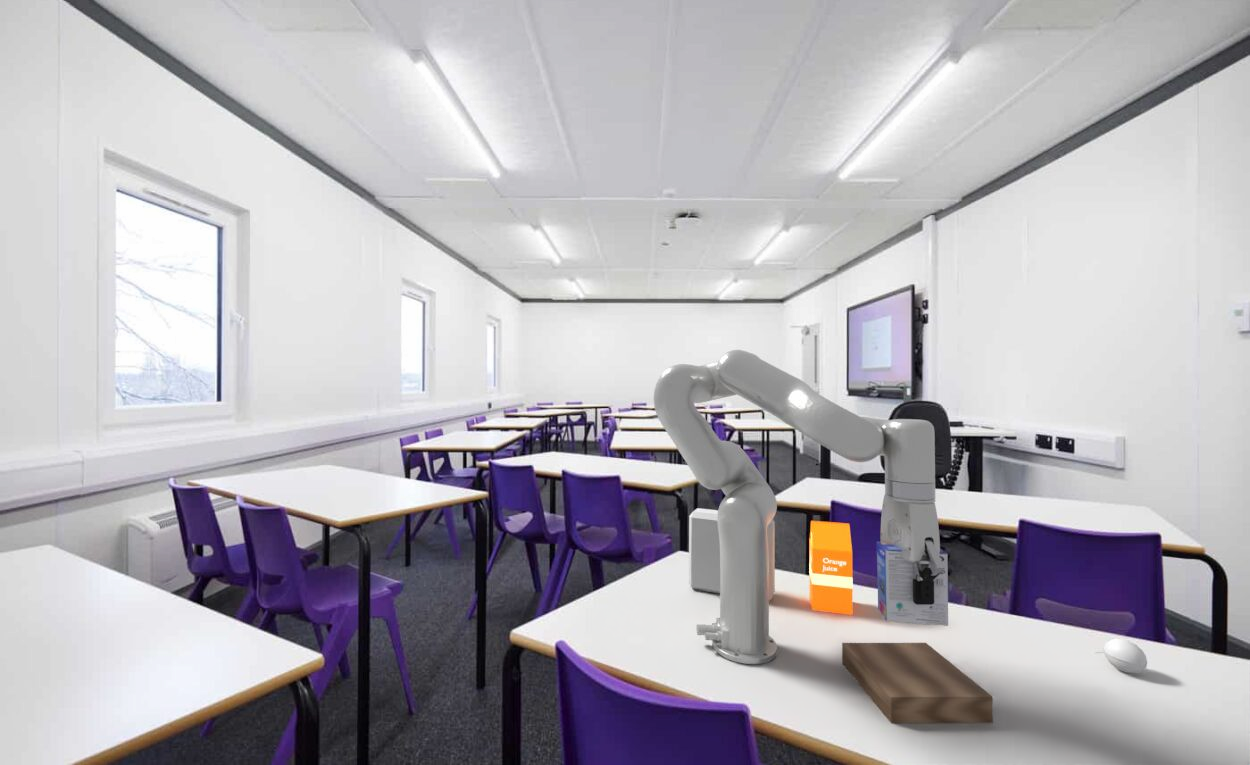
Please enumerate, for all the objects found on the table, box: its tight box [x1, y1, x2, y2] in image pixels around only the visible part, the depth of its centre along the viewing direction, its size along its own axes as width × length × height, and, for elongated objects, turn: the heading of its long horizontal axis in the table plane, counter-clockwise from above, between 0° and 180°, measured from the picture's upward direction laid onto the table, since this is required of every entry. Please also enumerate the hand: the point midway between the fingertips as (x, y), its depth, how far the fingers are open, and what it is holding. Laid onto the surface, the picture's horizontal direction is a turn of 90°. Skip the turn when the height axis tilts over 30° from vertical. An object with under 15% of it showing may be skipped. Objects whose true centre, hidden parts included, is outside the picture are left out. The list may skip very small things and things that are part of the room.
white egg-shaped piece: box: [1096, 638, 1148, 674], centre depth 89 cm, size 8×6×6 cm
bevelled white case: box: [688, 507, 776, 602], centre depth 123 cm, size 21×8×20 cm, turn 66°
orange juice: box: [808, 520, 854, 616], centre depth 115 cm, size 8×9×20 cm
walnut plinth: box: [841, 642, 994, 724], centre depth 82 cm, size 16×16×4 cm
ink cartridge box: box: [876, 541, 949, 627], centre depth 82 cm, size 10×6×14 cm, turn 80°
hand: (910, 594), depth 82 cm, fingers closed on ink cartridge box, 6 cm apart
